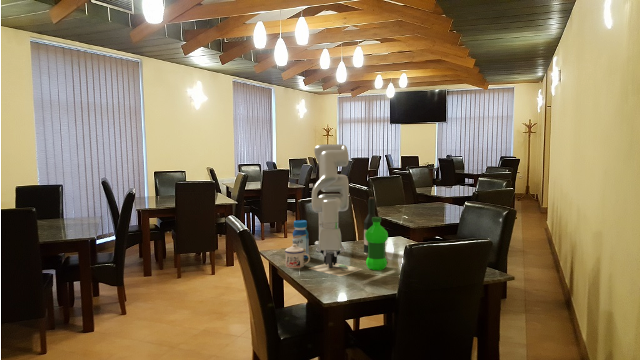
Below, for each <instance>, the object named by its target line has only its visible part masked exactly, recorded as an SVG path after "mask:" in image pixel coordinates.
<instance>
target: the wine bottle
mask: <svg viewBox="0 0 640 360" xmlns="http://www.w3.org/2000/svg"><path fill="white" fill-rule="evenodd" d="M367 201H368V202H367V203H368V205H367V207H368V208H367V209H368V212H367V216H366V218H364V221H363V252H364V253H367V254H368V241H367V240H366V238H365V233H366V231H367V230H368V229H369V228H370V227H371V226H372V225H373V222H372V217H377V215H376V213H375V209H376V208H375V206H376V205H375V204H376V203H375V198H374V197H373V196H372V197H371V196H369V198H368V199H367Z"/></svg>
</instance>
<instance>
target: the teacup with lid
mask: <svg viewBox="0 0 640 360" xmlns="http://www.w3.org/2000/svg"><path fill="white" fill-rule="evenodd" d="M284 253H285V267H286V268H288V269H300V268H303V267H304V266H305V265H306V264H308V263H309V262H310V261H311V255H308V254H306V253H304V249H303V248H300V247H298V246H297V245H296V244H293V243H292V245H291V246H290V247H287V248H286V249H285V250H284ZM304 255H307V256H308V258H307V260H306V261H304V260H305V259H304Z"/></svg>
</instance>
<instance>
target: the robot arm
mask: <svg viewBox="0 0 640 360" xmlns="http://www.w3.org/2000/svg"><path fill="white" fill-rule="evenodd" d="M313 151H314V157H315V159H316V162H317V164H318V170H319V174H318V177H319V179H318V180H317V181H316V183H314V185H313V187H312V190H311V209H312V211H313V212H314V213H316V214H318V240H316V241H315V242H314V245H315V246H317V247H316V248H315V250H316V251H317V252H319V253H321V255H322V256H323V262H324V263H323V264H325V265H327V264H326V254H327V253H329V252H330V251H332V252H334V257H333V265H335V264H336V263H338V256H339V254H341V253H343V252H344V251H346V250H345V247H344V246H343V243H342V233H341V228H340V227H339V212H345V211H347V210H348V209H349V207H350V206H349V205H350V203H349V202H350V198H349V191H350V190H349V188H350V187H349V185H350V184H349V178H348V176H347V175H345V174H338V167H342V168H343V167H345V168H346V167H347V166H348V164H349V161H350V160H349V150H348V147H347V146H346V145H345V144H342V143H341V144H334V143H333V144H328V143H327V144H317V145H316V146H314V150H313ZM319 191H321V192H325V193H322V194H320V195H318V193H319ZM338 192H339V193H338Z"/></svg>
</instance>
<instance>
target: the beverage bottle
mask: <svg viewBox="0 0 640 360" xmlns="http://www.w3.org/2000/svg"><path fill="white" fill-rule="evenodd" d="M307 227H308V221H307V220H305V219H301V220H300V219H298V220H294V221H293V228H294V230H293V232H292V237H291V238H292V239H291V240H292V245H293V244H296V245H297V246H298V247H300V248H303V249H304V253H306V254H308V255H309V250H310V249H309V240H310V239H309V231H308V229H307ZM309 256H310V255H309ZM306 259H308V256H307V255H304V260H306Z"/></svg>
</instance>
